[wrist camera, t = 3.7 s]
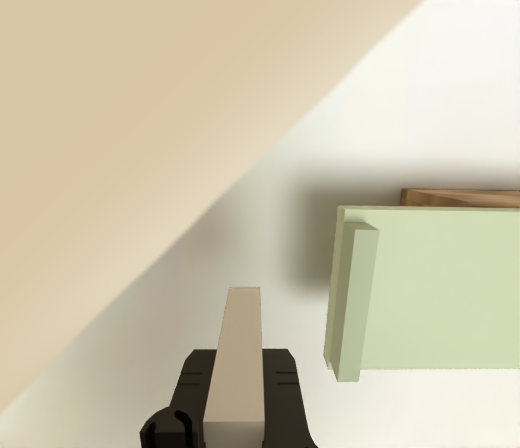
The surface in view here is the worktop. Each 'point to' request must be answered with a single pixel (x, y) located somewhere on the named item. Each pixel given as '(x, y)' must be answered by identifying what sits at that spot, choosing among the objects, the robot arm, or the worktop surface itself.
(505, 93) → the worktop surface
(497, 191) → the box
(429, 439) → the worktop surface
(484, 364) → the lid
